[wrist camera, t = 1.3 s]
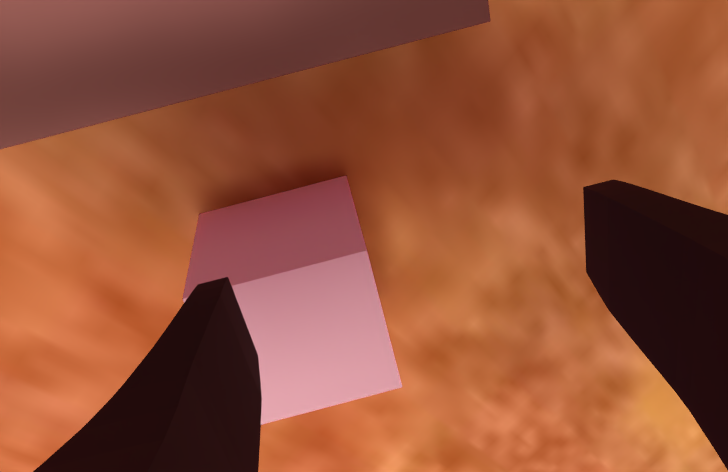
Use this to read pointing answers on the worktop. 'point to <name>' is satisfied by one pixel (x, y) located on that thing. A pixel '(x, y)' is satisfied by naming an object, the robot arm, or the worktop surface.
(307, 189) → the cube
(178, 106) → the worktop surface
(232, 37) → the base
